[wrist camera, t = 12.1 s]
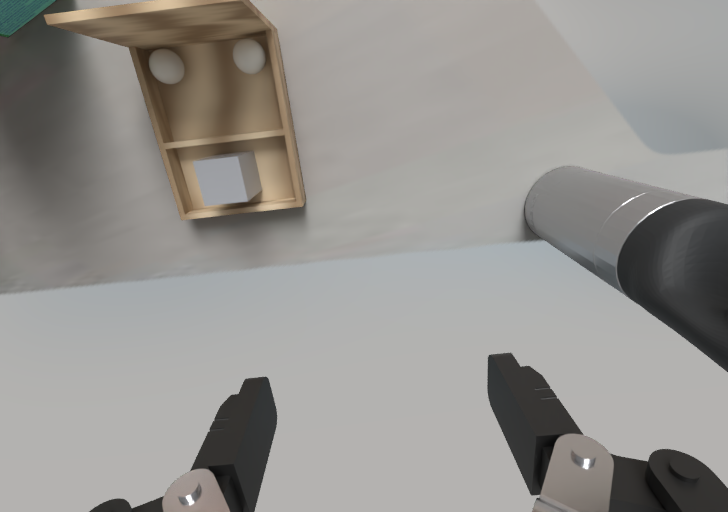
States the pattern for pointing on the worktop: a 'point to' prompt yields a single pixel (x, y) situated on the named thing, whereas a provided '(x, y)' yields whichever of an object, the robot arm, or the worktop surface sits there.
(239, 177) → the gray rectangular block
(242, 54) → the pebble
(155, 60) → the pebble
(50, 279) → the worktop surface
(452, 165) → the worktop surface
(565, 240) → the robot arm
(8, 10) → the milk carton
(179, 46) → the divided box
